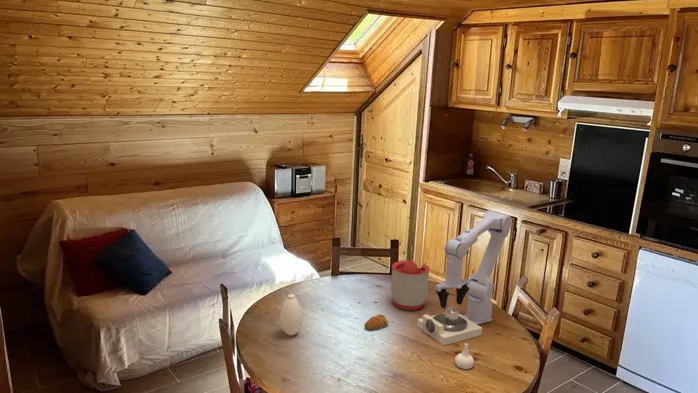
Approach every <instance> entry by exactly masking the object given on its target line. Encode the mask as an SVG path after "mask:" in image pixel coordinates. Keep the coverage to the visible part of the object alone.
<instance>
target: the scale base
mask: <svg viewBox="0 0 698 393" xmlns="http://www.w3.org/2000/svg"><path fill="white" fill-rule="evenodd" d="M442 314H445V312H443V313H442ZM436 315H437V314H435V315H434V314H433V315H429V314H423V315H422V317H421V318H418V319H417V324H416V325H417V326H416V327H417V328H418V329H420V330H421V331H422V332H424V333H425V334H427V335H428V336H429V337H431V338H432V339H433V340H435V341H437V342H438V343H439V344H440V345H442V346H447V345H451V344H455V343H459V342H461V341H465V340H469V339H472V338H476V337H480V336H483V335H482V334H483V327H481V326H480V325H479V324H475V323H473V322H472V321H470V320H469V319H467V318H465V317H464V316H463V315H462V314H460V313H459V314H458V316H460V317H462V318H464V319H465V320H466V321H467V328H466V329H464V330H462V331H455V332H452V331H445V330H444V325H442V324H441V323H439V322H438V321H436V320H435V319H433V317H434V316H436Z"/></svg>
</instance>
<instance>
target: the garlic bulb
mask: <svg viewBox="0 0 698 393" xmlns="http://www.w3.org/2000/svg"><path fill="white" fill-rule="evenodd" d="M454 365H455V366H456V367H457V368H460V369H462V370H469V369H472V368H473V367H474V365H475V360H474V357H473V356H472V355H471V354H469V344H468V343H466V342H465V343H464V346H463V349H462V352H460V353H458V354H457V355H456V356H455V358H454Z"/></svg>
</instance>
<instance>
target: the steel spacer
mask: <svg viewBox="0 0 698 393" xmlns="http://www.w3.org/2000/svg"><path fill="white" fill-rule="evenodd" d="M459 312H460V311H459V308H456V307H454V306H448V307H447V306H446V308H445V309H444V313H445V318H444V322H445V323H446V324H448V325H457V324H458V314H460V313H459Z"/></svg>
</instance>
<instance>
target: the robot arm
mask: <svg viewBox="0 0 698 393" xmlns="http://www.w3.org/2000/svg"><path fill="white" fill-rule="evenodd" d="M512 226H513V220H512V216H511V215H510V214H505V213H501V212H498V211H497V212H496V211H493V210H490V209H488V210H486V211H485V212H484V213H483V214H482V217H481V220H479V222H478V223H477V224H475V226H474V227H473V228H466V229H465V230H464V231H463V232H462V233H460V234H459V235H457V237H455V238H452V239H448V240H447V241H446V243H445V245H444V248H443V249H444V252H445V257H446V266H445V267H446V268H445V281H443V282H441V283H438V284H435V292H436V293H437V296H438V300H439V304H440V307H441V308H442V309H444V310H445V308H447V303H448V298H449V295H450V292H448V291H447V290H450V289H456V291H455V292H456V298H455V299H456V304H458V305H460V306H461V305H462V304H463V301H464V299H465V297H466V298H467V309H466V314H464V315H462V316H464V317H465V318H467V319H469V320H470V321H472V322H473V323H475V324H477V325H480V324H484V323H487V322H493V318H492V312H493V301H492V300H491V298H492V296H493V293H494V287H495V284H494V282H493V281H492V279H491V276H492V273H493V270H494V268H495V265H496V263H497V260H498V258H499V254H500V252H501V250H502V247H503V244H504V242H505V239H506V238H508V236H509V233H510V231H511V228H512ZM486 232H488V233H489V234H490V238H489V241H488V244H487V246H486V248H485V251H484V253H483V256H482V259H481V262H480V264H479V266H478V269H477V272H476V273H473V274H471V275H469V278H462V274H463V265H464V264H463V262H464V257H465V256H466V255H467V253H468V251H469V250H470V247H472V246H473V245H474V244H476V243H477V242H478V240H479V236H481V235H482V234H484V233H486Z"/></svg>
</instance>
